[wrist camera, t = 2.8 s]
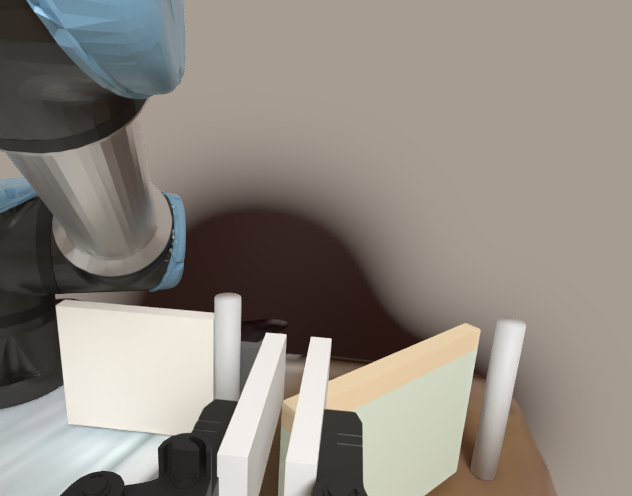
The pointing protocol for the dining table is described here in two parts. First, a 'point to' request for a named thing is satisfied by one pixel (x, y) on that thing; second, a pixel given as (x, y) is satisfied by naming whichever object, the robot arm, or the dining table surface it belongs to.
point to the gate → (404, 413)
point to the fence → (210, 369)
